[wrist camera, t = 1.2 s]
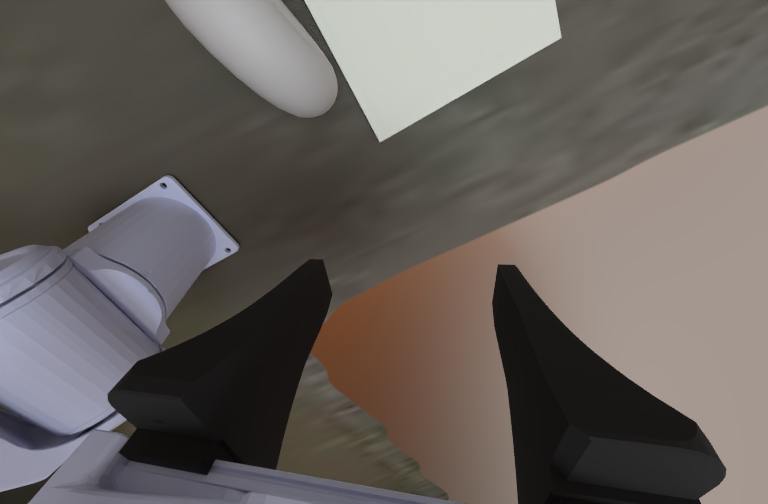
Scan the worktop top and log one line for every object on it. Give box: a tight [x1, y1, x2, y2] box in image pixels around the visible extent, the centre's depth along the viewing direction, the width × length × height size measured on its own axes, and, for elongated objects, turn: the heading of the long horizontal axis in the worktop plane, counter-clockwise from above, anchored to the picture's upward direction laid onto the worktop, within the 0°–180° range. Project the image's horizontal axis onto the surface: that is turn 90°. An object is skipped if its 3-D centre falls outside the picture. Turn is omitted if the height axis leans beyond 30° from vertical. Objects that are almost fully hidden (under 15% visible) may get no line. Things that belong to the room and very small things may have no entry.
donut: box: [165, 0, 338, 118], centre depth 16 cm, size 10×4×10 cm, turn 41°
